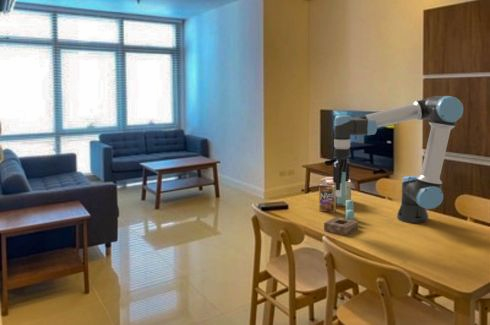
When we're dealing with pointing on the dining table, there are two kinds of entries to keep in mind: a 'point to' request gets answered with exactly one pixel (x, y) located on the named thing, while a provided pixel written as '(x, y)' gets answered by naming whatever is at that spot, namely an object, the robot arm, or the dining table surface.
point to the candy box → (327, 198)
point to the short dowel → (350, 214)
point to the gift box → (348, 189)
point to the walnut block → (341, 226)
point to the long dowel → (343, 180)
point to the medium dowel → (349, 204)
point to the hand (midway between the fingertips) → (341, 195)
